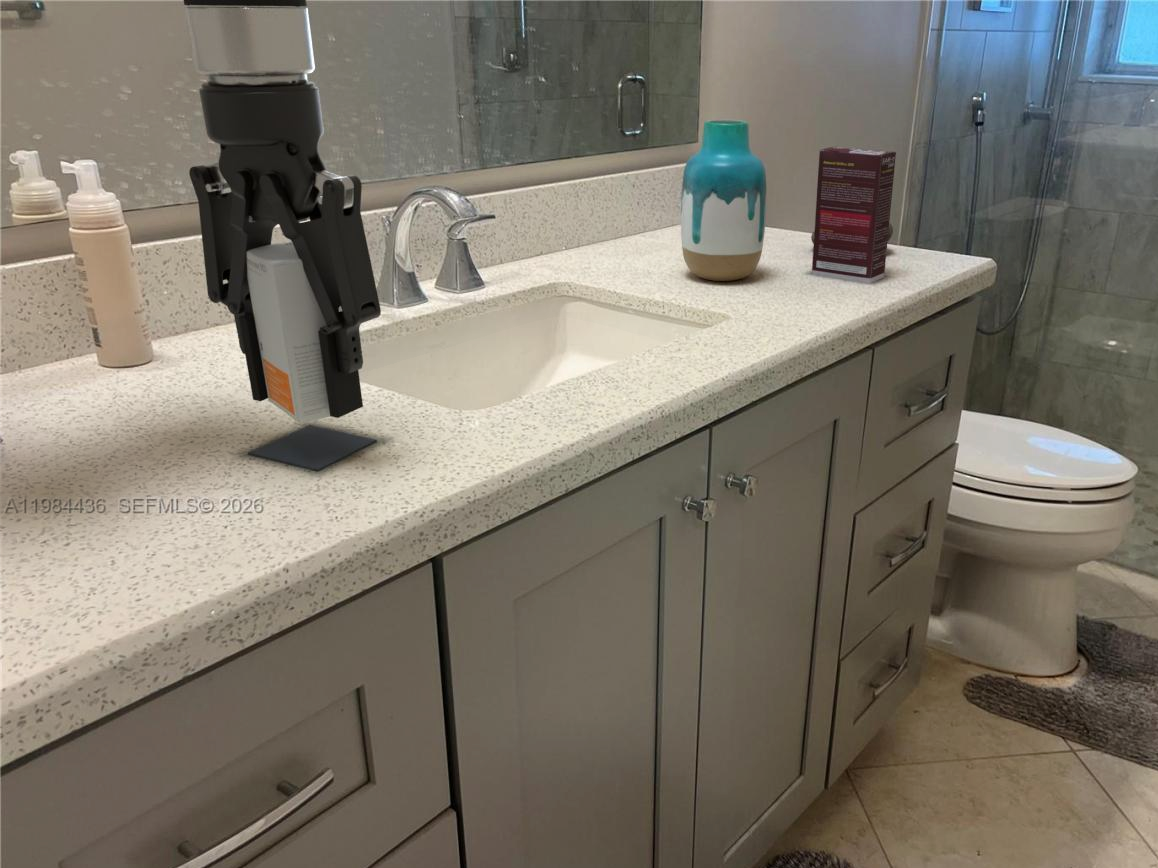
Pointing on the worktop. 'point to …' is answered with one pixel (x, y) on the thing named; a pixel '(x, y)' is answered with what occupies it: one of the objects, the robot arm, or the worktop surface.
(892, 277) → the worktop surface
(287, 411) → the cosmetic box
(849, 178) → the supplement box
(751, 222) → the vase
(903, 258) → the worktop surface
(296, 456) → the mat
